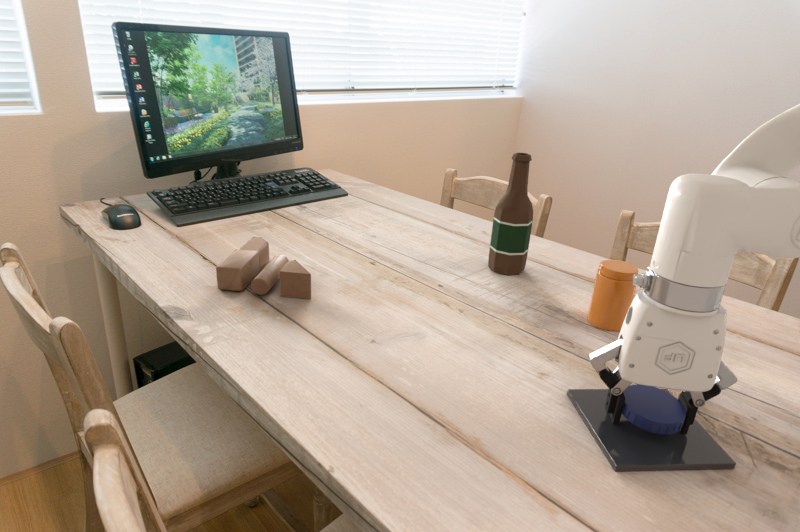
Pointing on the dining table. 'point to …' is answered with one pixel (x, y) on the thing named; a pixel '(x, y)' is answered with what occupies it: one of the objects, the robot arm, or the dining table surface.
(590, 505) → the dining table surface
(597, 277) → the honey jar
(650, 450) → the slate coaster
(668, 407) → the jar lid
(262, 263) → the wooden block set
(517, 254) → the beer bottle
